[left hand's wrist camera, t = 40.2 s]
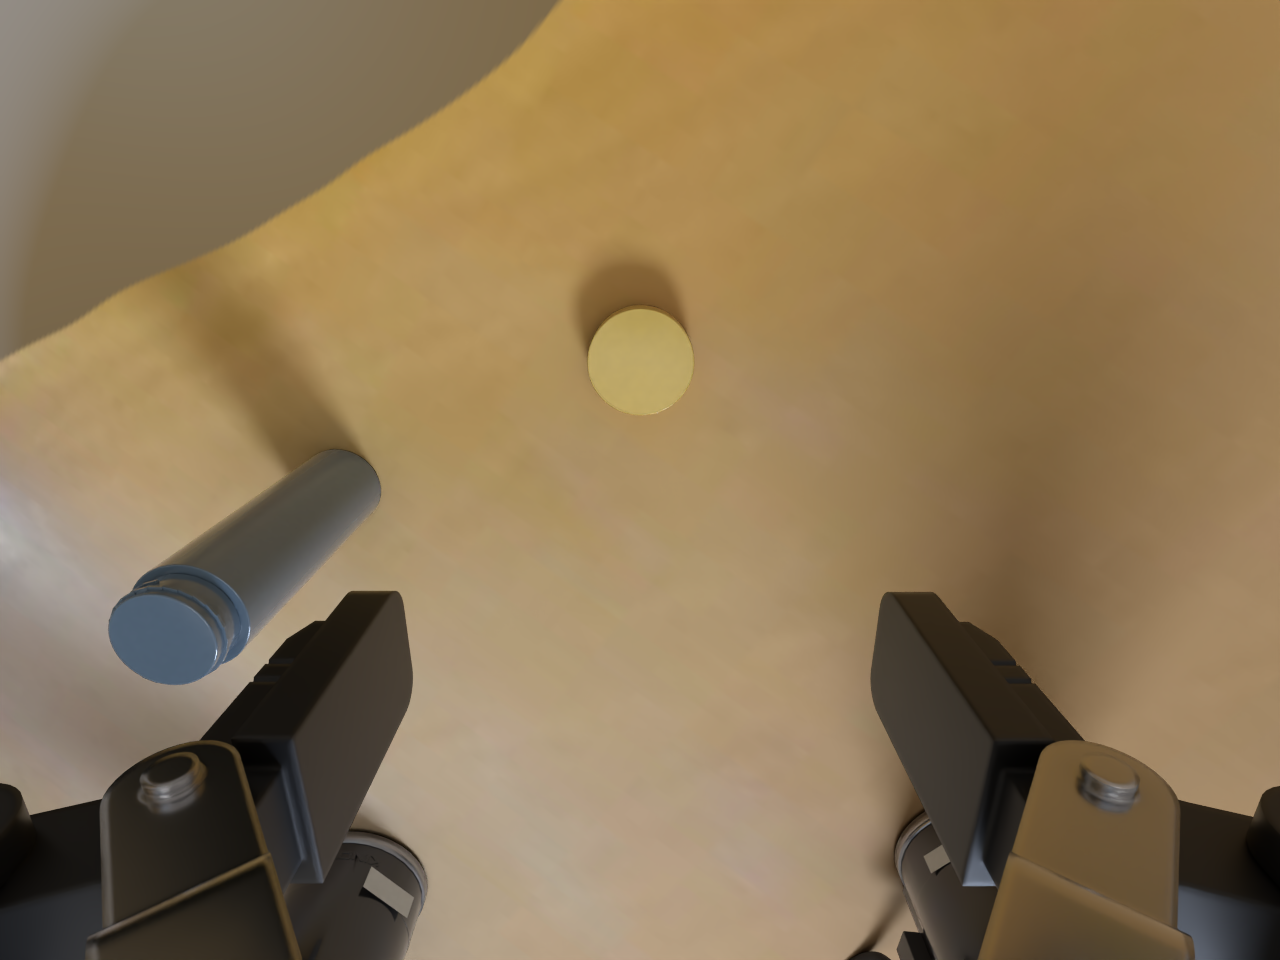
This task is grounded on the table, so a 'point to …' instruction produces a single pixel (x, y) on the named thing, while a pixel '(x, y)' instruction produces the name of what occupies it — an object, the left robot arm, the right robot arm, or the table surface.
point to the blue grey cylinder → (241, 571)
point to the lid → (640, 360)
